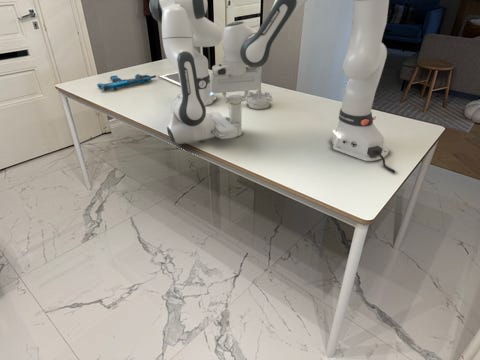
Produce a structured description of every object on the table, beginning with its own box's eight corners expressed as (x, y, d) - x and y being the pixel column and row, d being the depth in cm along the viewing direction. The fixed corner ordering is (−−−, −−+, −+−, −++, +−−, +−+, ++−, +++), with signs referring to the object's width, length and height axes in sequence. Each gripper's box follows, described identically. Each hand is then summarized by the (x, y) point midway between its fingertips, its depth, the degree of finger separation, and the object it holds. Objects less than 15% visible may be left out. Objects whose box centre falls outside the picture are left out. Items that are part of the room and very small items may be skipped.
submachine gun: (141, 68, 224) (160, 75, 207) (142, 74, 226) (161, 81, 209) (89, 78, 205) (105, 86, 189) (91, 85, 207) (107, 93, 191)
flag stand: (265, 99, 183) (267, 40, 167) (275, 107, 173) (279, 45, 156) (242, 102, 179) (242, 42, 163) (252, 111, 169) (253, 48, 152)
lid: (244, 100, 140) (244, 96, 139) (237, 104, 136) (237, 100, 135) (233, 97, 143) (233, 93, 142) (225, 101, 139) (225, 97, 138)
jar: (239, 130, 150) (239, 96, 142) (242, 135, 146) (242, 100, 138) (228, 131, 149) (227, 97, 141) (231, 136, 145) (230, 102, 136)
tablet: (158, 76, 219) (158, 76, 219) (185, 70, 230) (185, 70, 230) (186, 88, 199) (186, 87, 198) (213, 81, 210) (213, 81, 209)
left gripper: (216, 130, 130) (248, 123, 135) (198, 112, 146) (227, 107, 151) (217, 144, 134) (248, 137, 139) (199, 125, 149) (227, 120, 154)
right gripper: (258, 63, 137) (257, 96, 144) (208, 66, 133) (209, 100, 140) (262, 67, 132) (261, 102, 139) (210, 71, 128) (212, 106, 135)
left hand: (237, 121), depth 145 cm, fingers closed on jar, 5 cm apart
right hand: (235, 101), depth 140 cm, fingers closed on lid, 6 cm apart
